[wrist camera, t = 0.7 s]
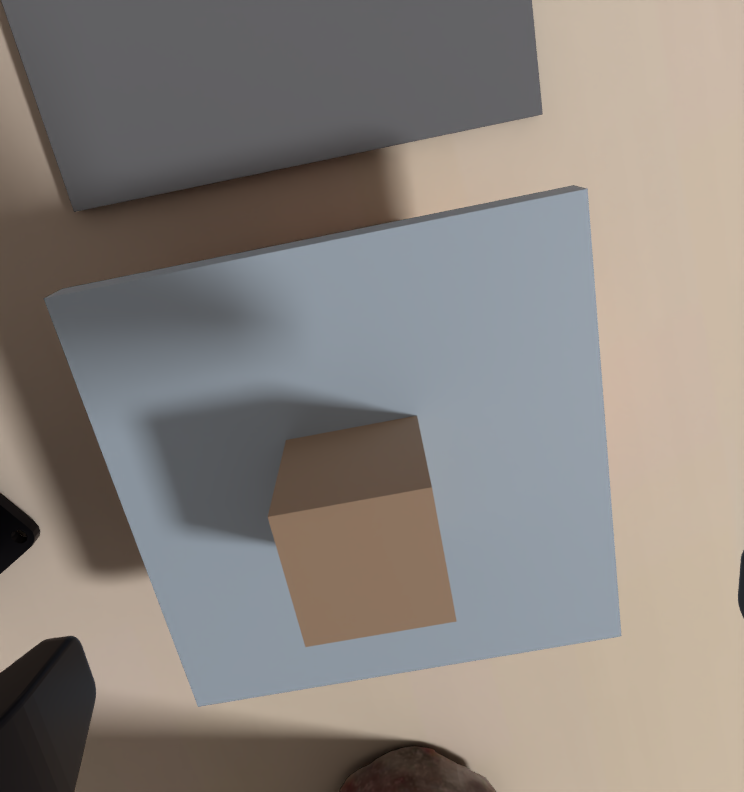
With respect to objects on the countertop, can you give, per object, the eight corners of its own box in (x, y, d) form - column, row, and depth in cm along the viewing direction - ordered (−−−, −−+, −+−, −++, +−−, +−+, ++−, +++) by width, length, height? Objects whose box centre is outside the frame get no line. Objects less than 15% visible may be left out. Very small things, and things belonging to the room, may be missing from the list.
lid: (608, 612, 20) (677, 743, 15) (205, 680, 20) (165, 824, 16) (573, 185, 15) (655, 204, 11) (62, 288, 16) (-45, 344, 12)
